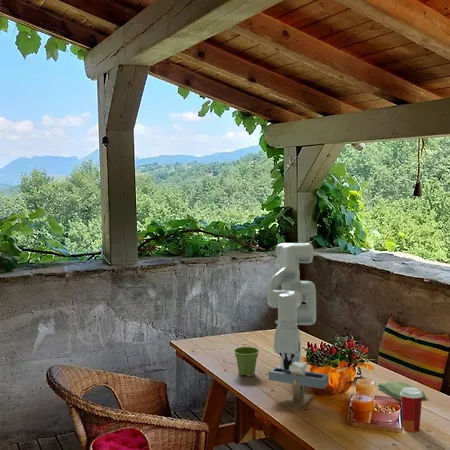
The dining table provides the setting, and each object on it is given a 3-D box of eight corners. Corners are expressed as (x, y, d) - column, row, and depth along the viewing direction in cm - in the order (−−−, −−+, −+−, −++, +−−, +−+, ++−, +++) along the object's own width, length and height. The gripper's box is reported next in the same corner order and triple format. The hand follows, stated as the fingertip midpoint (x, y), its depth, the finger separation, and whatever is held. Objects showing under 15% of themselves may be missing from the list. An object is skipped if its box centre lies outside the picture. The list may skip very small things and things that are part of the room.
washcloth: (401, 385, 251) (401, 378, 250) (427, 399, 234) (427, 391, 234) (375, 388, 247) (375, 381, 246) (399, 403, 230) (399, 395, 230)
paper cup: (417, 424, 209) (418, 386, 208) (425, 433, 201) (426, 394, 200) (396, 424, 209) (396, 387, 208) (403, 433, 201) (404, 394, 200)
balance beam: (266, 401, 233) (266, 372, 232) (277, 391, 243) (277, 364, 242) (320, 411, 222) (320, 381, 221) (330, 400, 232) (330, 372, 232)
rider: (289, 377, 230) (289, 365, 230) (295, 372, 236) (295, 361, 236) (301, 379, 228) (301, 367, 228) (306, 374, 233) (306, 363, 233)
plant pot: (229, 376, 264) (229, 352, 263) (240, 368, 274) (240, 345, 273) (252, 380, 258) (252, 355, 258) (263, 372, 269) (263, 348, 268)
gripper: (266, 324, 233) (266, 368, 234) (301, 328, 226) (301, 374, 227) (274, 320, 239) (274, 363, 241) (308, 324, 232) (308, 368, 234)
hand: (287, 368), depth 234 cm, fingers closed
